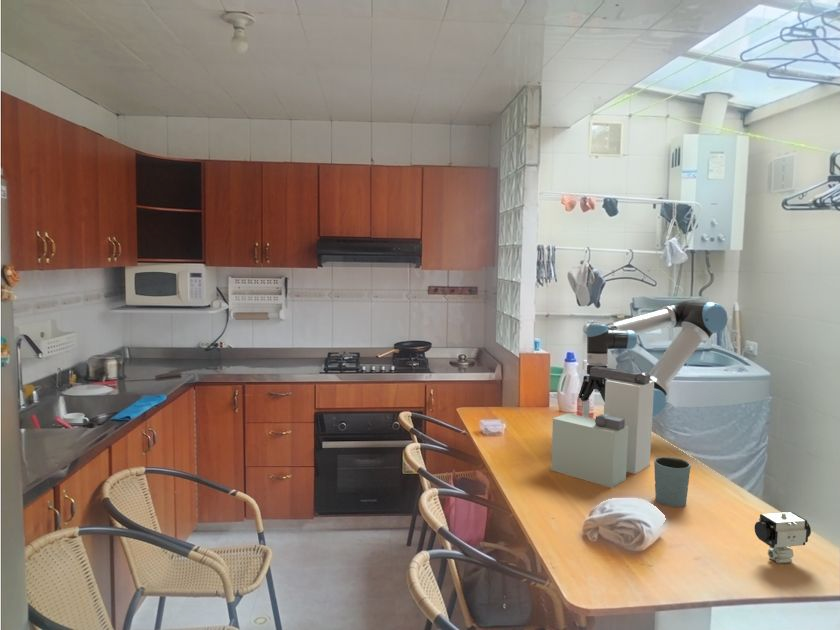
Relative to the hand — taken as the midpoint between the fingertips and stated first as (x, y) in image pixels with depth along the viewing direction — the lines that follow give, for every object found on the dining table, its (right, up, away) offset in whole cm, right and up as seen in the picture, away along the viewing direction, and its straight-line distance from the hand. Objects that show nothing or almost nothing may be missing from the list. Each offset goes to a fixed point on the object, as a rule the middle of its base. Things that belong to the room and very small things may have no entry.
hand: (596, 420), depth 227 cm
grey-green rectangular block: (-11, -13, -27) cm, 32 cm away
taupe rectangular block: (+5, -12, -18) cm, 22 cm away
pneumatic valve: (+20, -20, -82) cm, 87 cm away
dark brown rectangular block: (+3, +18, -18) cm, 26 cm away
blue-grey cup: (+8, -16, -48) cm, 51 cm away
